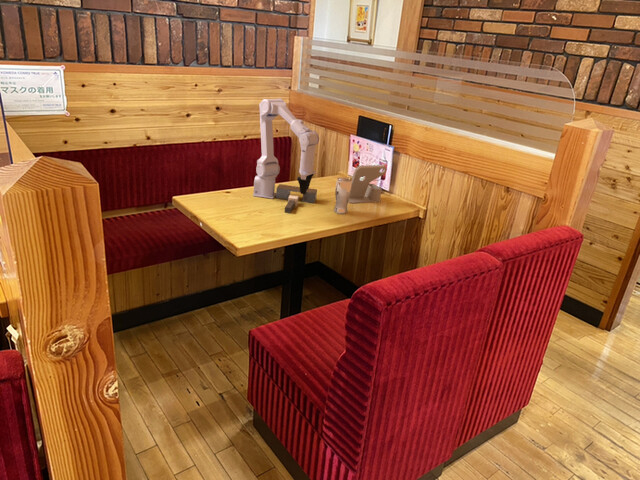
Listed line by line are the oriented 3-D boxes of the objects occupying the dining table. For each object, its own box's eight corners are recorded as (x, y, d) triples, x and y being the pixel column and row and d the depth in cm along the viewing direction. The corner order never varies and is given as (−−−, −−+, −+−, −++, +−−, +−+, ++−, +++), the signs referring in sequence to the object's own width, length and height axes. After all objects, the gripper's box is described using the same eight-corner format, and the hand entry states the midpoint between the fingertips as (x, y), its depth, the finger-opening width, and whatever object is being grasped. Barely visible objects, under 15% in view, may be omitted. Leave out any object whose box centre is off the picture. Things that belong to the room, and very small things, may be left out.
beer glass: (348, 210, 224) (352, 178, 218) (348, 215, 217) (352, 182, 211) (333, 208, 224) (337, 176, 218) (332, 213, 218) (336, 180, 212)
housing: (275, 198, 229) (276, 187, 227) (278, 194, 235) (279, 184, 233) (314, 203, 227) (315, 193, 225) (316, 199, 233) (317, 189, 231)
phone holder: (371, 195, 248) (377, 160, 241) (382, 202, 239) (388, 165, 232) (341, 197, 240) (345, 160, 233) (351, 204, 232) (355, 166, 225)
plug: (282, 212, 213) (283, 204, 212) (289, 202, 226) (289, 195, 224) (291, 213, 213) (292, 206, 211) (297, 203, 225) (298, 196, 224)
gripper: (314, 165, 201) (311, 197, 206) (318, 157, 214) (316, 187, 219) (297, 163, 201) (294, 195, 207) (302, 155, 215) (300, 185, 220)
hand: (304, 191), depth 213 cm, fingers open, 7 cm apart
